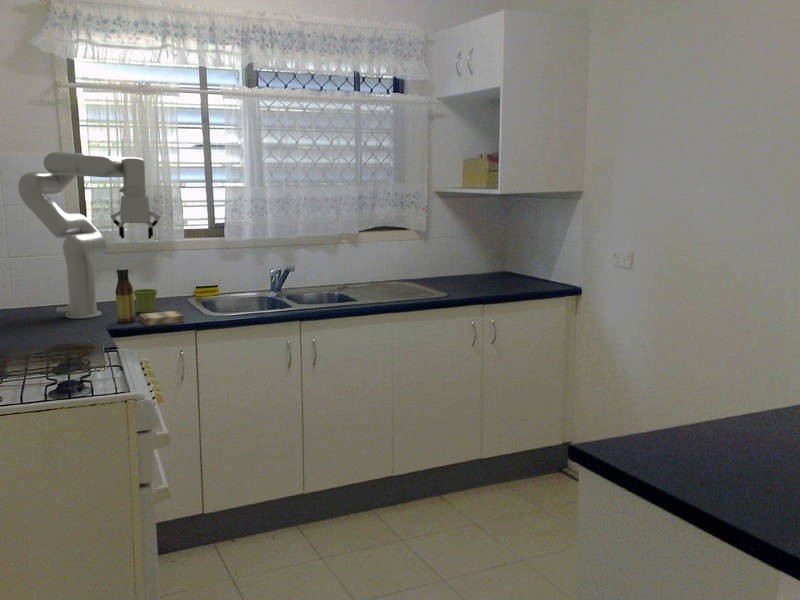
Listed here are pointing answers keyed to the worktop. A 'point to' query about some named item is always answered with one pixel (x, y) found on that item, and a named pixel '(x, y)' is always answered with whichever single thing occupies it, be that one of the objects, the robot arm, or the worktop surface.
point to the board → (161, 318)
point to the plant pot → (145, 299)
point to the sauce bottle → (124, 297)
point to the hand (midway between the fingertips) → (136, 238)
